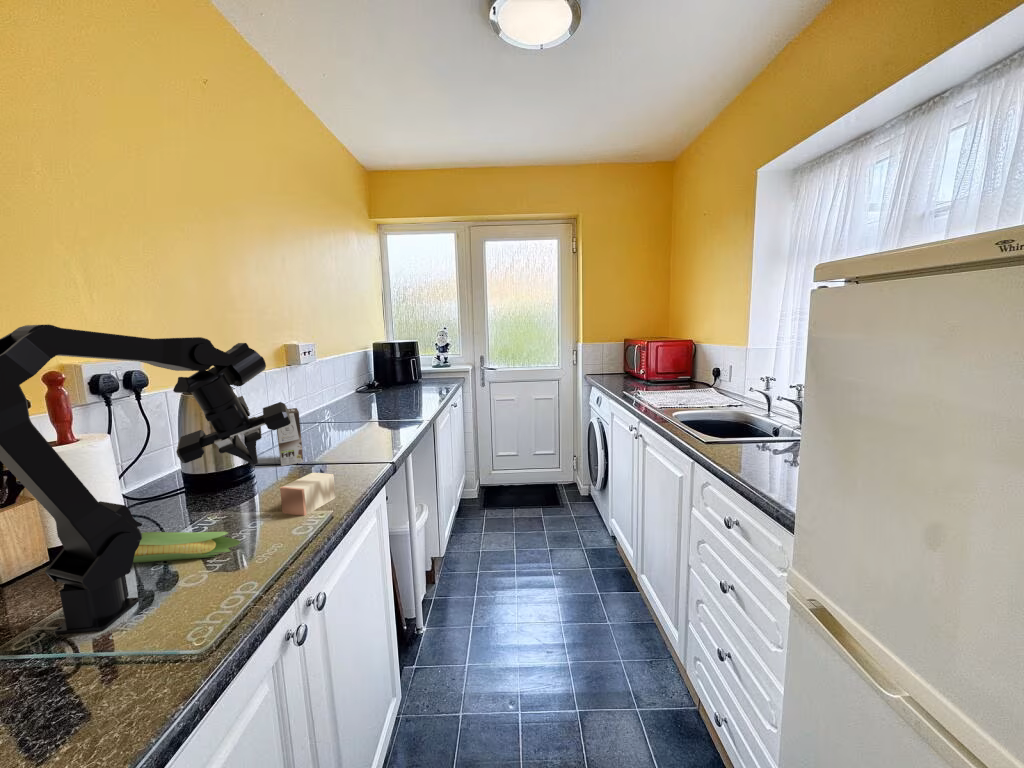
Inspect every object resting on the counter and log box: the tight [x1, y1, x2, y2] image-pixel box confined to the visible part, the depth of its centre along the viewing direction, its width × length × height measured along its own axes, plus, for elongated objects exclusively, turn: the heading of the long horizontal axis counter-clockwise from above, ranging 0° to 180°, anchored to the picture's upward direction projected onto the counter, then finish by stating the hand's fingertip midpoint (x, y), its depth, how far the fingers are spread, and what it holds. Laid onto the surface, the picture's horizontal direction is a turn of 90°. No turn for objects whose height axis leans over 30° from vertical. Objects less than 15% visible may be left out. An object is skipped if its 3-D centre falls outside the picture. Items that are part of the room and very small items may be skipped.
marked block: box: [279, 472, 336, 517], centre depth 98 cm, size 6×6×10 cm
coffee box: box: [276, 407, 304, 467], centre depth 131 cm, size 9×6×16 cm
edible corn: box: [133, 531, 241, 564], centre depth 76 cm, size 5×20×5 cm
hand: (255, 463), depth 85 cm, fingers closed
